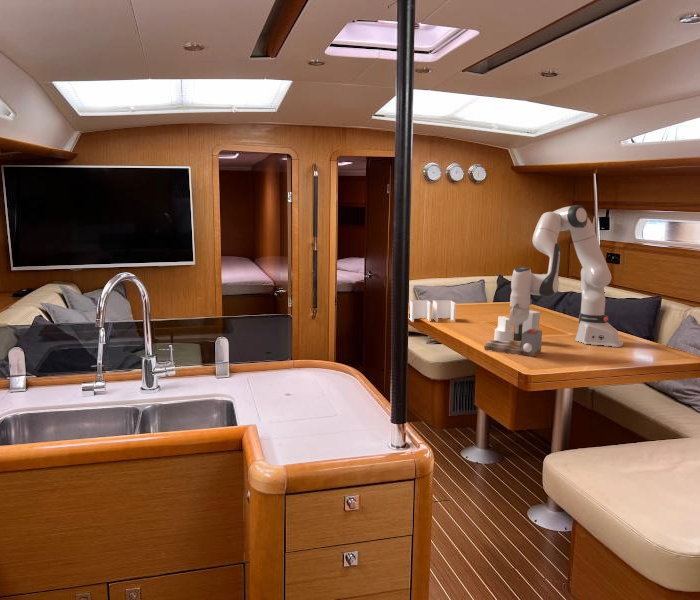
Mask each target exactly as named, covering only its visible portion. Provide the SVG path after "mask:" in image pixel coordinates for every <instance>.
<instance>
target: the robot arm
mask: <svg viewBox="0 0 700 600" xmlns="http://www.w3.org/2000/svg"><path fill="white" fill-rule="evenodd" d="M588 215H589V214H588V212H587V210H586V209H585V207H584V206H583V205H577V204H575V205H569V206H565V207H561V208H558V209H556V210H552V211H547V212H544V213H542V214H541V216H540V218H539V219H538V221H537V224H536V226H535V230H534V232H533V235H532V240H531V241H532V245H533V246H534V248H535V249H536V250H537V251H538V252H540V253H542V254H543V255H545V256H548V257H549V262H548V268H547V273H545V274H541V273H540V274H539V273H533V272H532V269H531V268H530V267H528V266H518V267H516V268H514V269H513V272H512V275H511V283H510V289H511V292H510V298H509V306H510V307H512V308H511V309H510V310H509V317H508V318H509V325H511V327H512V326H513V334H514V333H516V334H518V333H519V325H523V322H524V321H526V320H528V317H529V311H530V310H531V305H532V302H533V301H532V299H531V295H533V296H541V297H545V298H551V297H553V296H554V295H555V294H557V293H558V290H559V275H560V269H561V257H562V249H561V246H560V244H558V239H559V235H560V232H565V231H570V235H571V240H572V243H573V247H574V250H575V252H576V256H577V258H578V260H579V263H580V264H581V267H582V268H581V270H580V286H581V287H580V288H581V289H580V290H581V302H580V303H581V304H580V305H581V306H580V312H579V315H578V328H577V332H576V336H575V338H574V341H576V342H578V341H579V342H578V343H581V342H582V343H581V344H583V343H584V344H583V345H586V344H591V345H590V346H597V345H604V346H603V347H608V346H612V347H611V348H620V347H621V348H622V347H623V346H624V341H623V340H620V335H619V332H618V330H617V329H616V328H615V327H613V326H612V325H611V324H610V323H609V315H606V314H605V312H606V311H605V309H606V293H605V287H607V286H609V284H610V283H611V281H612V274H611V271H610V269H609V265H608V264H607V261H606V259H605V257H604V255H603V251H602V249H601V247H600V244H599V240H598V237H597V234H596V231H595V228H594V225H593V223H592V221H591V220H590V218H589V216H588Z"/></svg>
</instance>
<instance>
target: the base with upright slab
mask: <svg viewBox="0 0 700 600" xmlns="http://www.w3.org/2000/svg"><path fill="white" fill-rule="evenodd" d="M493 336H494V337H493V340H498V341H505V342H509V341H510V340H512V339H513V336H514V329H512V326H511V325H509V317H507V316H503V315H501V316H497V327H496V328H494V335H493Z"/></svg>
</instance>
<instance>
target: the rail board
mask: <svg viewBox="0 0 700 600" xmlns="http://www.w3.org/2000/svg"><path fill="white" fill-rule="evenodd" d="M485 343H486V344H485V345H484V347H483V350H484V349H485V350H484V351H488V350H492V351H491V352H495V351H496V353H502V352H505V353H504V354H509V353H511V354H510V355H515V354H518V355H517V356H522V355H523V356H524V357H529V356H531V355H534V356H535V357H536V356H537V355H538V352H540V353H541V351H542V347H541V348H540V346H539V350H537V351H536V352H537V354H536V352H535V353H531V352H524V351H522V352H521V346H520V347H518V346H511V345H509V342H505V341H498V340H494V339H490V341H486V342H485ZM521 353H522V355H521ZM524 354H526V356H525V355H524ZM527 355H529V356H527ZM523 356H522V357H523ZM534 356H531V358H535V357H534Z"/></svg>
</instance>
